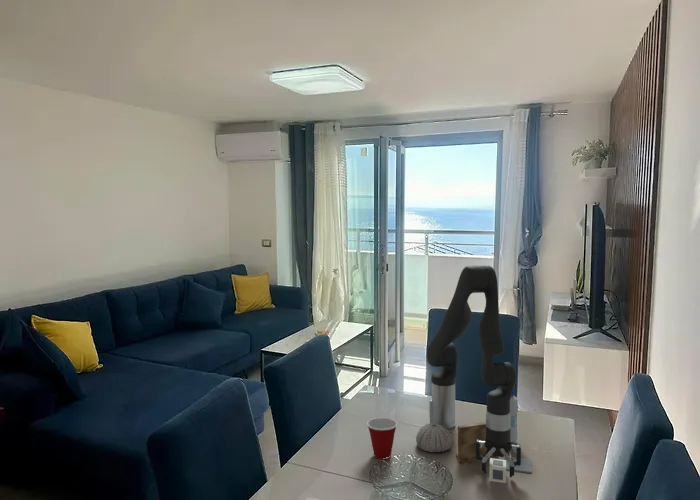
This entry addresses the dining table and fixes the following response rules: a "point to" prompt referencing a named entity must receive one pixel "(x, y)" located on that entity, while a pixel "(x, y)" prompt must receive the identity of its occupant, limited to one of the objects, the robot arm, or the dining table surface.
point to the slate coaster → (521, 466)
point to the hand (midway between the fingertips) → (497, 474)
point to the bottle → (513, 417)
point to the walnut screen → (471, 441)
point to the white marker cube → (498, 470)
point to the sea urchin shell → (434, 438)
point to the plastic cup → (382, 436)
